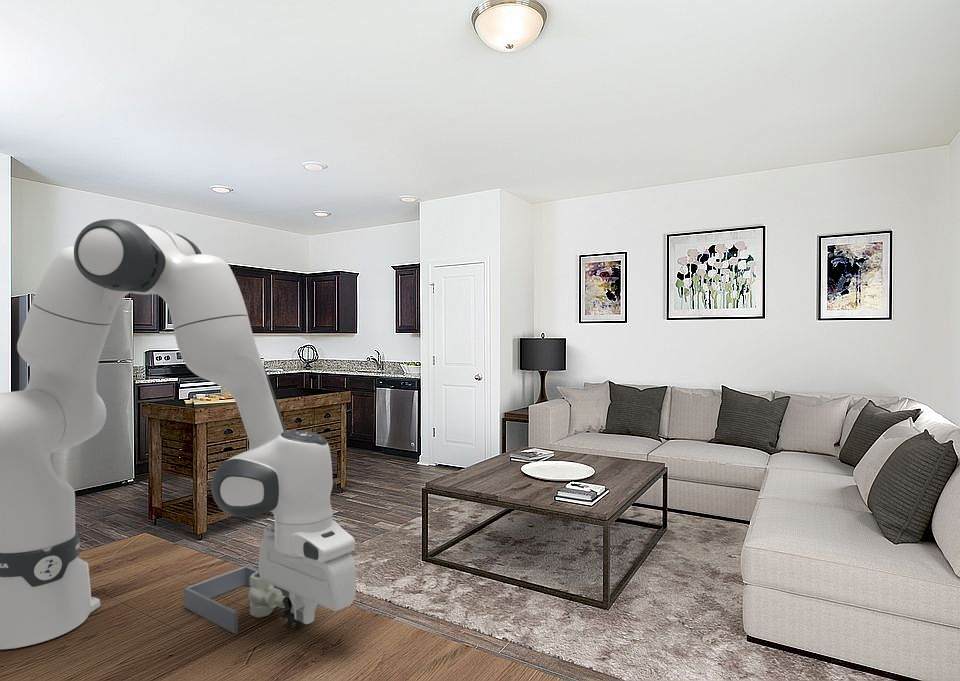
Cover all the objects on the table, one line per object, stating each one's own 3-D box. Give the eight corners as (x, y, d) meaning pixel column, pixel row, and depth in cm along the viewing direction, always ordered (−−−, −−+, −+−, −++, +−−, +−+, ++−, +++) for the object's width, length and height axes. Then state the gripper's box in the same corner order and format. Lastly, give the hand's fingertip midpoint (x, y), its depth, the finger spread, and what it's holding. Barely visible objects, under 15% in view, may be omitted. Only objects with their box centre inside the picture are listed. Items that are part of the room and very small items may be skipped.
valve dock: (183, 607, 102) (183, 588, 102) (246, 582, 112) (246, 565, 112) (234, 633, 93) (234, 613, 93) (297, 604, 103) (297, 586, 103)
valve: (237, 617, 99) (282, 637, 92) (237, 578, 99) (282, 596, 92) (270, 602, 104) (315, 620, 97) (270, 565, 104) (315, 581, 97)
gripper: (248, 526, 96) (248, 609, 96) (330, 554, 84) (330, 649, 84) (281, 516, 101) (281, 595, 101) (362, 541, 89) (363, 631, 89)
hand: (304, 620), depth 92 cm, fingers closed
